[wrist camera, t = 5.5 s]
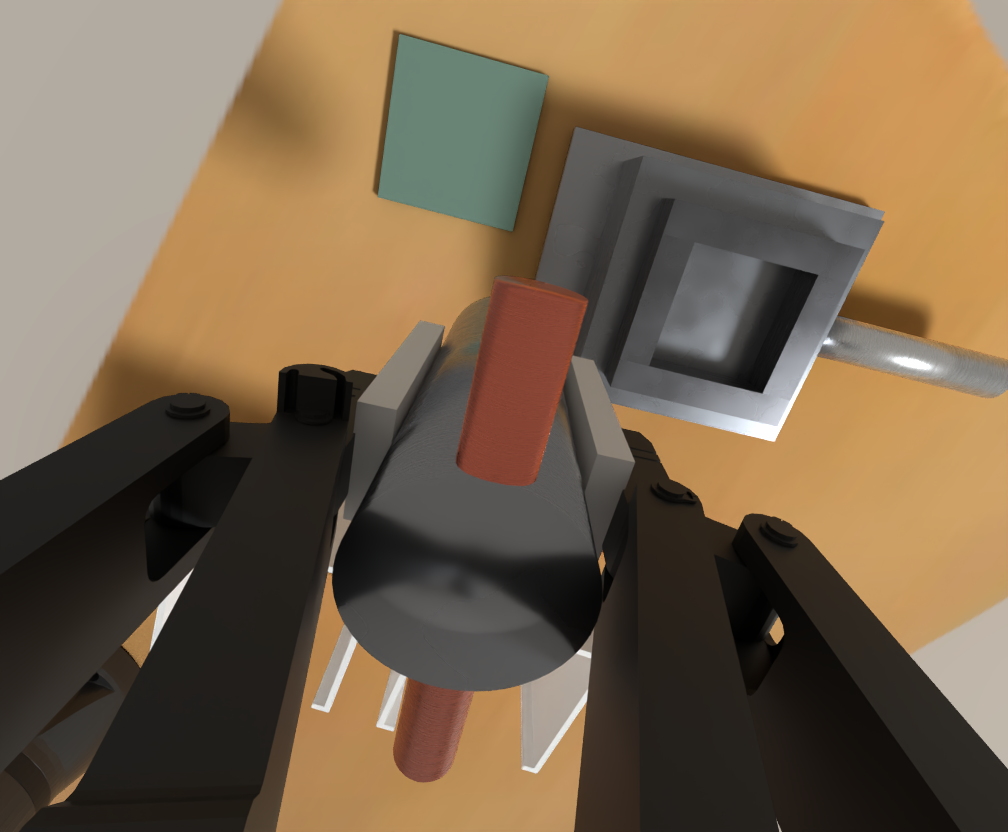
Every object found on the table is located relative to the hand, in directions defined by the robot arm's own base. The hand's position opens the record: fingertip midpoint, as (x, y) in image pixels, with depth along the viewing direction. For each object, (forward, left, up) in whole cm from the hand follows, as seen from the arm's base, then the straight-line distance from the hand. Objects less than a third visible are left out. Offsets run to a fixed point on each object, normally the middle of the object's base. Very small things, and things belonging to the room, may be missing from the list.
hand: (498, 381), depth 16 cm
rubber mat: (-4, +7, -17) cm, 19 cm away
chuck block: (+15, +2, -17) cm, 23 cm away
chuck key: (0, 0, -4) cm, 4 cm away
